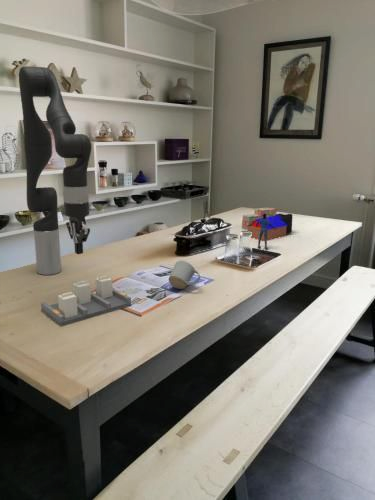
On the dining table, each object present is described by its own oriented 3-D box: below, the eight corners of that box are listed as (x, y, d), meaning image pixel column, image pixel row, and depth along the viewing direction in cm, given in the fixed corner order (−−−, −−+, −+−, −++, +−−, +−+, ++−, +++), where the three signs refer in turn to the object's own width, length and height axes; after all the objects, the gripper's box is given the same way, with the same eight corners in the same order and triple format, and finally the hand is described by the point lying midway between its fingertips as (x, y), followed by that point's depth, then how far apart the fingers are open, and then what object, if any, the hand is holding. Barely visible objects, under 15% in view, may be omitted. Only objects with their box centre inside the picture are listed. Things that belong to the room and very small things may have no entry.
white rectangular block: (96, 295, 140) (95, 276, 138) (106, 292, 142) (105, 273, 140) (102, 299, 137) (101, 279, 135) (112, 296, 139) (111, 276, 137)
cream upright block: (59, 314, 125) (57, 293, 123) (71, 310, 127) (70, 290, 125) (65, 318, 122) (63, 297, 120) (77, 315, 124) (76, 293, 122)
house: (246, 238, 227) (247, 217, 224) (269, 233, 240) (270, 213, 237) (263, 242, 218) (264, 220, 215) (286, 237, 231) (288, 216, 228)
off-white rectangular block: (73, 301, 135) (72, 281, 133) (85, 298, 137) (84, 278, 135) (79, 305, 132) (78, 284, 130) (91, 301, 134) (90, 282, 132)
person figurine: (275, 250, 203) (278, 214, 199) (271, 252, 200) (273, 215, 195) (255, 246, 210) (257, 211, 205) (251, 248, 206) (253, 212, 202)
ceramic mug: (175, 291, 152) (162, 277, 149) (184, 275, 157) (172, 261, 154) (196, 288, 145) (183, 273, 141) (205, 271, 150) (193, 256, 146)
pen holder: (284, 228, 242) (284, 212, 239) (296, 232, 235) (296, 215, 231) (272, 232, 238) (271, 215, 235) (283, 235, 231) (282, 218, 227)
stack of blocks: (248, 232, 242) (249, 211, 238) (241, 230, 247) (242, 209, 243) (275, 228, 253) (277, 208, 249) (268, 226, 258) (269, 207, 254)
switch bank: (41, 310, 130) (40, 301, 129) (108, 293, 145) (108, 285, 144) (60, 326, 120) (60, 316, 119) (131, 305, 135) (130, 297, 134)
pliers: (210, 231, 244) (212, 197, 239) (211, 231, 243) (213, 197, 239) (201, 233, 236) (203, 198, 232) (202, 233, 236) (204, 198, 231)
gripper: (56, 198, 132) (59, 250, 137) (74, 204, 122) (77, 260, 127) (78, 196, 137) (80, 246, 142) (97, 202, 127) (99, 256, 132)
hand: (79, 253), depth 135 cm, fingers closed
